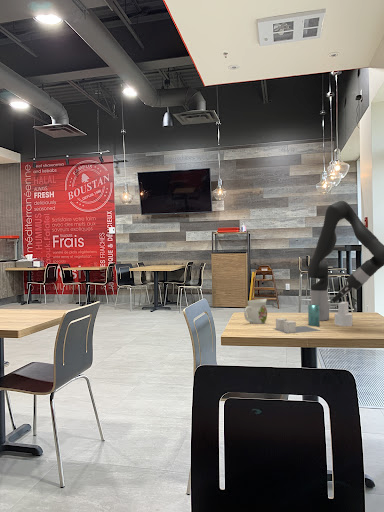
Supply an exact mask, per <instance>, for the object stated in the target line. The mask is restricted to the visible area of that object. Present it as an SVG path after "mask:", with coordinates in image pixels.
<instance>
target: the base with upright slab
mask: <svg viewBox="0 0 384 512" xmlns="http://www.w3.org/2000/svg"><path fill="white" fill-rule="evenodd" d="M337 309H338V311H337V312H334V326H337V325H339V326H338V327H352V326H353V313H350V312H349V301H340V302H338V304H337Z"/></svg>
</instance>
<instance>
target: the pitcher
mask: <svg viewBox="0 0 384 512" xmlns="http://www.w3.org/2000/svg"><path fill="white" fill-rule="evenodd" d="M267 300H268V299H267V298H260V299H252V300H251V299H250V300H247V306H246V307H245V309H244V311H243V312H244V313H243V314H244V319H245V320H246V322H249V324H251V325H252V324H254V325H259V324H265V323H266V321H267V318H268V309H267V308H268V307H267V306H266V305H267Z"/></svg>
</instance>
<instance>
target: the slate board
mask: <svg viewBox="0 0 384 512" xmlns="http://www.w3.org/2000/svg"><path fill="white" fill-rule="evenodd" d="M272 329H273V330H274V331H278V332H280V333H284V334H288V335H289V334H290V333H287V332H284V330H278V329H276V327H275V328H274V327H273V328H272ZM309 332H311V333H312V332H321V330H320V329H317V328H314V327H310V326H306V325H300V326H296V332H294V333H293V334H298V333H309Z"/></svg>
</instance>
